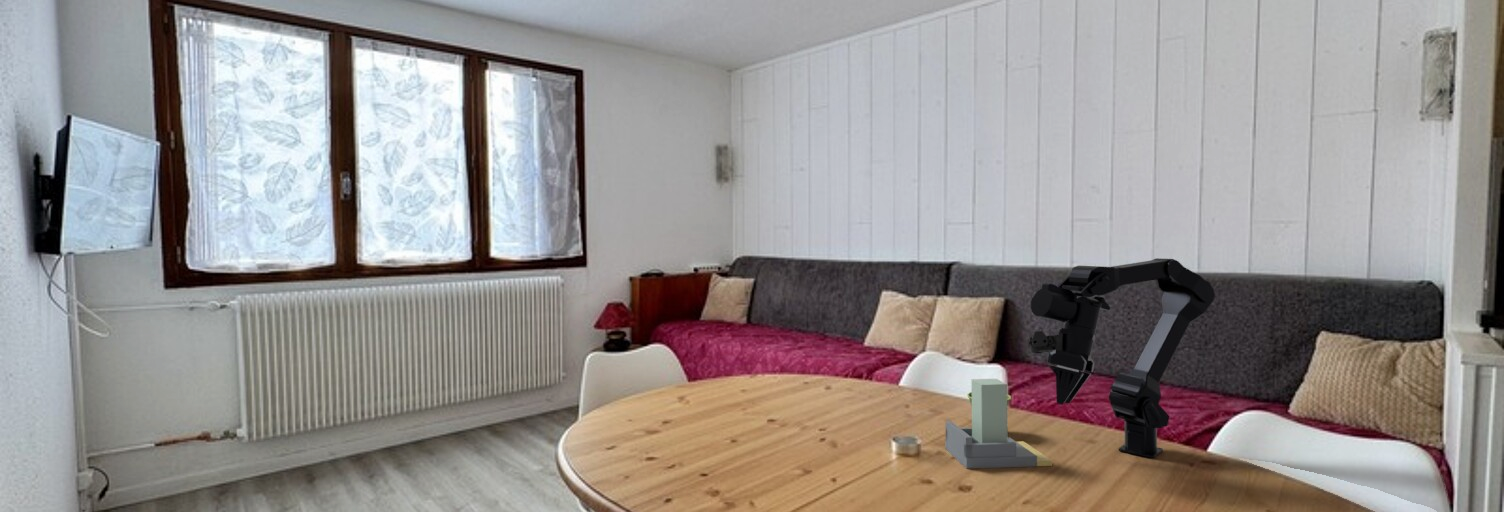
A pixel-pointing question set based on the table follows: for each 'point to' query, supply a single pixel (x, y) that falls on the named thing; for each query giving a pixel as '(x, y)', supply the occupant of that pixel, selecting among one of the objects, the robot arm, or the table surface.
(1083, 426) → the table surface
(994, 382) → the pale green tall block
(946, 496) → the table surface
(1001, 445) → the dock
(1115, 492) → the table surface
